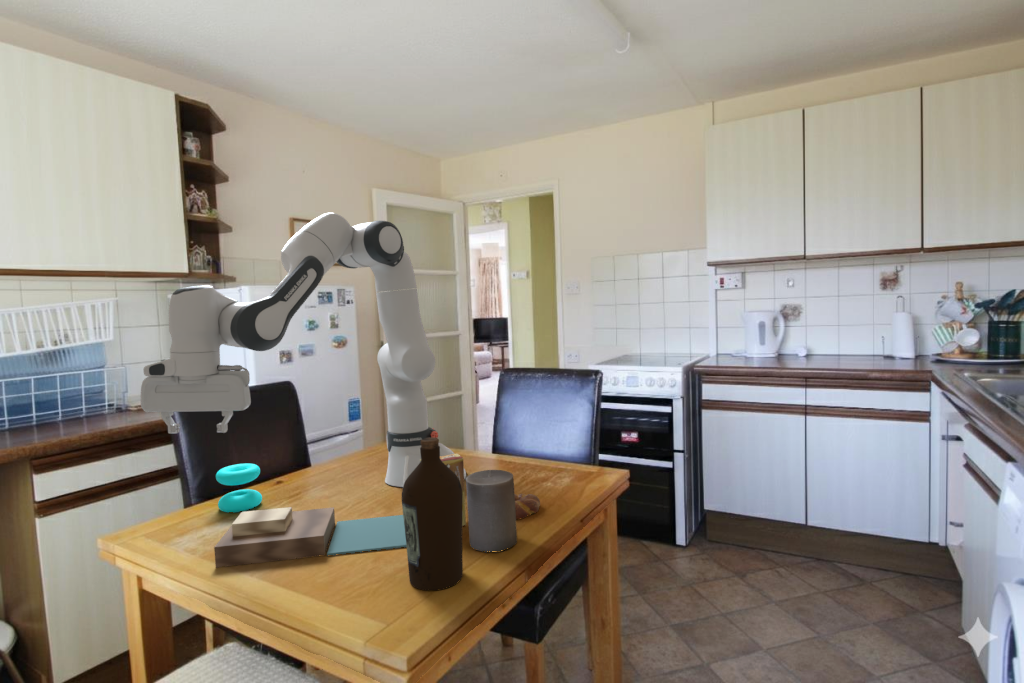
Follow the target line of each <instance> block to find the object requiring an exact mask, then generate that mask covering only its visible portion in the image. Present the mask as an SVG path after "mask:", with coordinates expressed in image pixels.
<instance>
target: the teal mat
mask: <svg viewBox="0 0 1024 683" xmlns="http://www.w3.org/2000/svg"><path fill="white" fill-rule="evenodd" d="M330 540H331V541H330V542H329V545H328V548H327V551H326V556H327V557H329V556H328V555H333V556H337V555H336V554H342V555H347V554H346V553H351V554H356V553H355V552H360V553H363V552H362V551H368V552H371V551H370V550H377V551H382V550H381V549H386V550H394V549H393V548H395V549H402V548H401V547H404V548H407V546H406V536H405V526H404V517H403V514H399V515H398V514H397V515H388V516H379V517H378V516H377V517H369V518H368V517H367V518H359V519H350V520H349V519H348V520H340V521H337V522H336V524H335V527H334V530H333V533H332V536H331V539H330Z"/></svg>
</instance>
